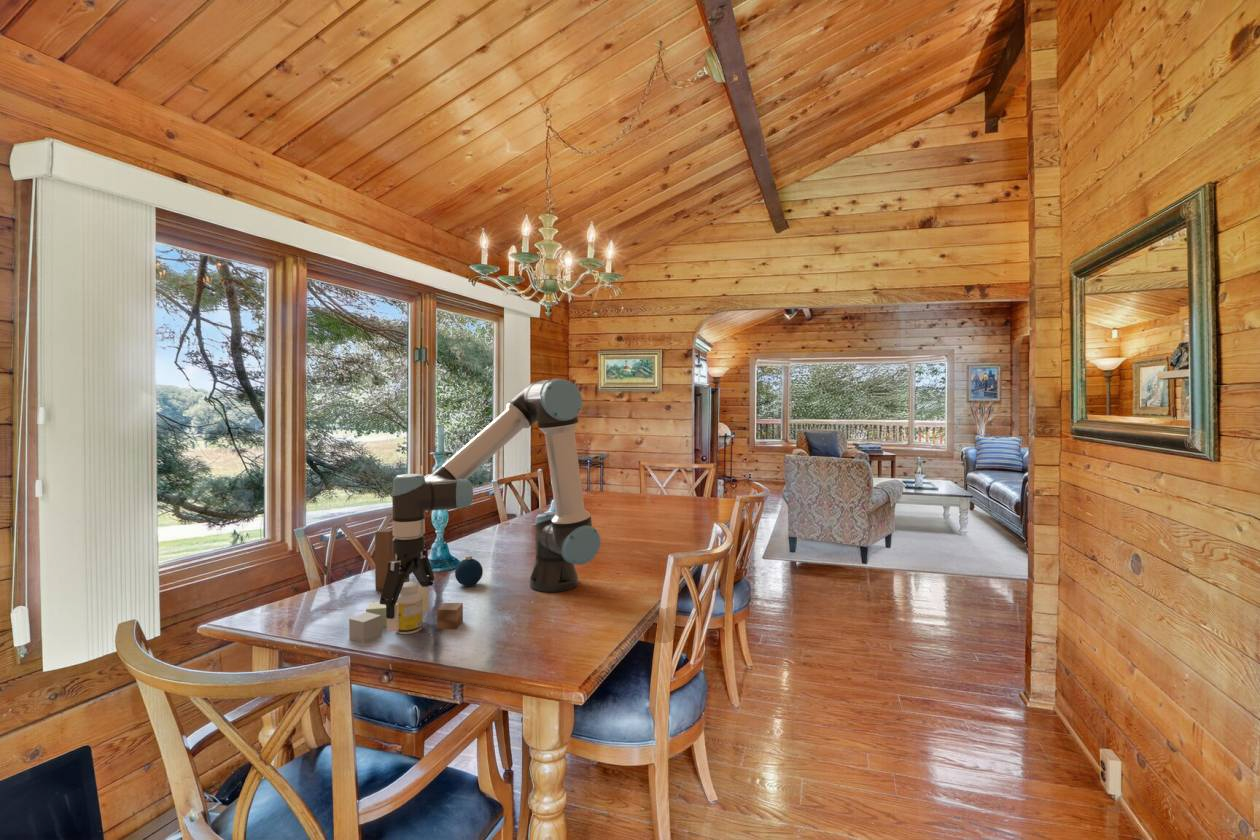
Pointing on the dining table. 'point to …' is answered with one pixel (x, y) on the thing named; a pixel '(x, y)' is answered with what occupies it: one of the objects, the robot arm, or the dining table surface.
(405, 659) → the dining table surface
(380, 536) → the wooden block
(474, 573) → the christmas ornament
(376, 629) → the taupe cube
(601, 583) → the dining table surface
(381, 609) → the sage cube
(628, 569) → the dining table surface
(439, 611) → the walnut cube
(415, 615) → the pill bottle
